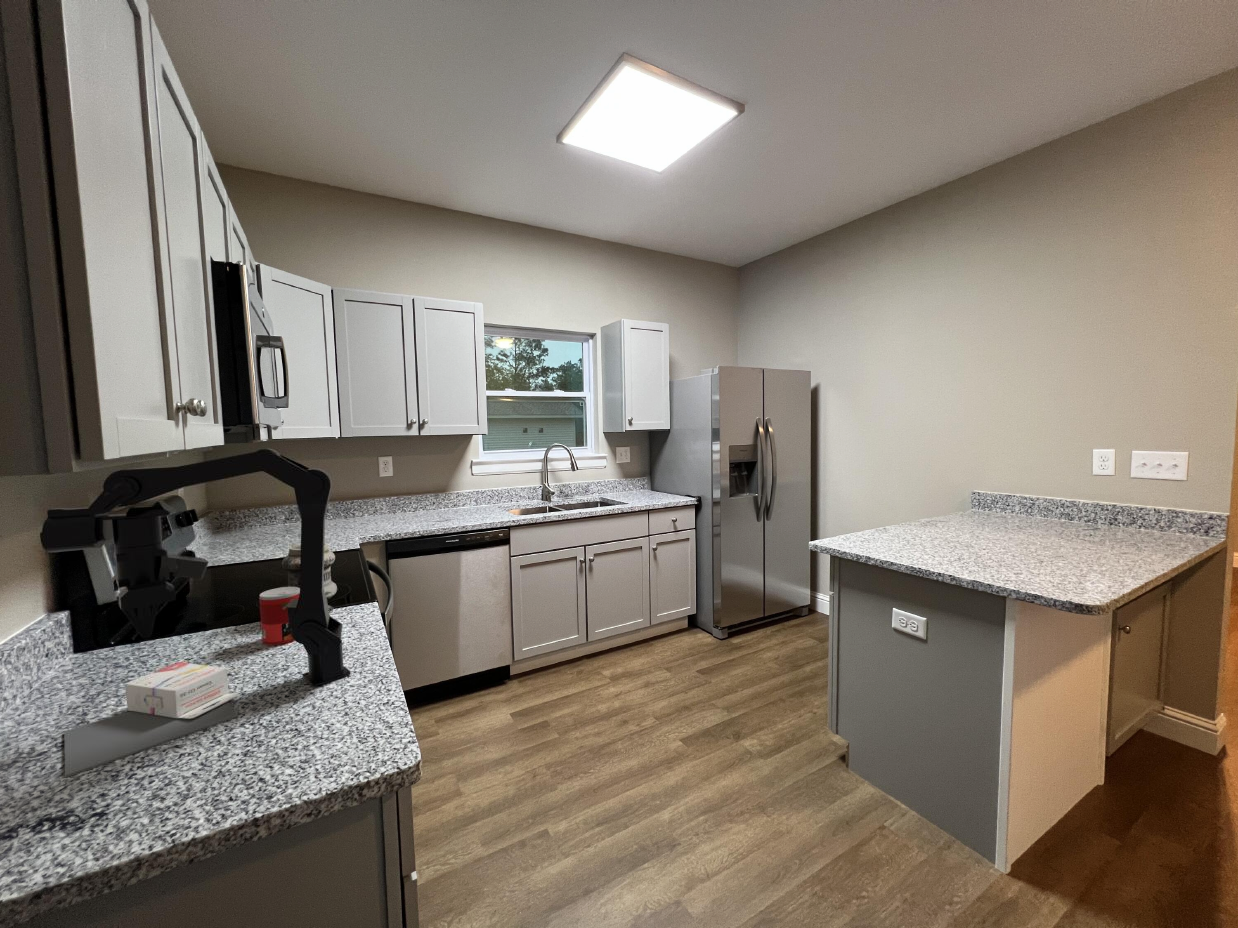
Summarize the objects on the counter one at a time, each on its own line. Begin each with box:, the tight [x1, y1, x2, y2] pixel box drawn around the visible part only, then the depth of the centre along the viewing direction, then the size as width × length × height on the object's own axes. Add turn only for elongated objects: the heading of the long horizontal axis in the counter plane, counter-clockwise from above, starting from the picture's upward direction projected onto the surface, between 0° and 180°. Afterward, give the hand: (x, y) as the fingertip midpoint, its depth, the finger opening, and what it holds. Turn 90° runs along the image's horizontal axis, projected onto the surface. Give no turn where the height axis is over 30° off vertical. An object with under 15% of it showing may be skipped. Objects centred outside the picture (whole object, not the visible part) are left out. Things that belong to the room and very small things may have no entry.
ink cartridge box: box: [124, 661, 240, 719], centre depth 86 cm, size 9×5×15 cm
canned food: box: [258, 586, 300, 646], centre depth 114 cm, size 8×8×11 cm
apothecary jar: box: [281, 542, 338, 614], centre depth 130 cm, size 12×12×18 cm
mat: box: [64, 700, 239, 778], centre depth 80 cm, size 16×19×1 cm
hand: (146, 636), depth 83 cm, fingers closed
